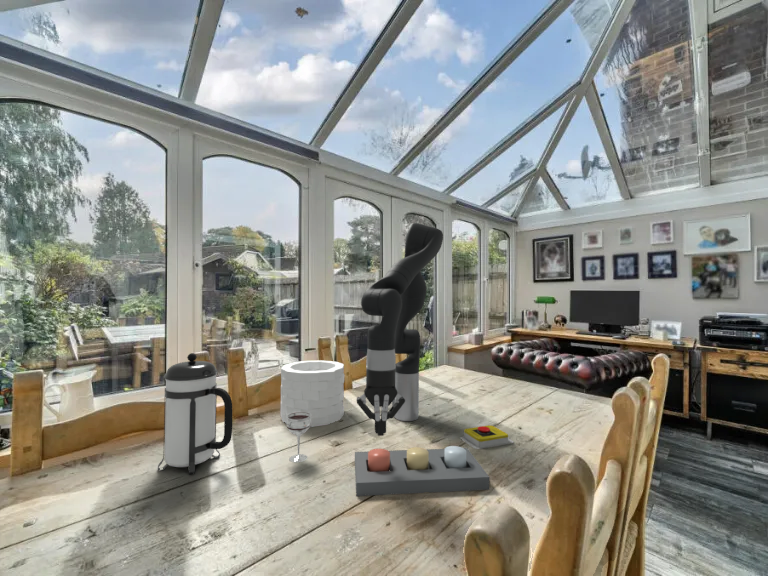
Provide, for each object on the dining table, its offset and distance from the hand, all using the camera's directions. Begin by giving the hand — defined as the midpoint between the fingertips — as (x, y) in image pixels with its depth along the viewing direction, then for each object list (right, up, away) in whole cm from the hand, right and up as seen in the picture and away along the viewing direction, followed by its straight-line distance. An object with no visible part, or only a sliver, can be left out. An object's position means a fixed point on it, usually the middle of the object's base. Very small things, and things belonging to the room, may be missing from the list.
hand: (380, 434), depth 90 cm
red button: (0, -9, 0) cm, 9 cm away
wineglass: (-23, -11, +10) cm, 28 cm away
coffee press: (-51, -11, +6) cm, 52 cm away
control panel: (+10, -11, +1) cm, 15 cm away
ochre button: (+10, -9, +1) cm, 13 cm away
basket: (-26, -12, +44) cm, 53 cm away
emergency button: (+34, -12, +24) cm, 43 cm away
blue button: (+20, -9, +2) cm, 22 cm away
